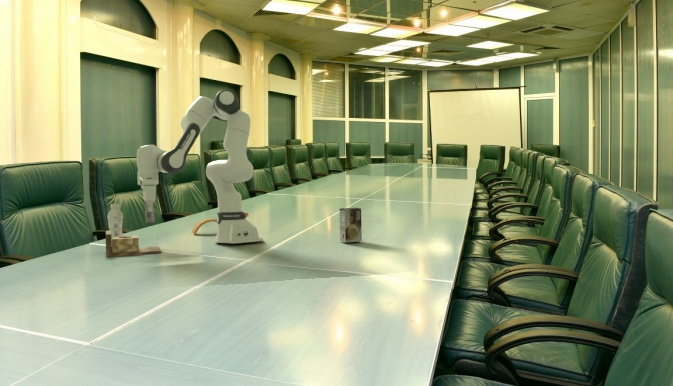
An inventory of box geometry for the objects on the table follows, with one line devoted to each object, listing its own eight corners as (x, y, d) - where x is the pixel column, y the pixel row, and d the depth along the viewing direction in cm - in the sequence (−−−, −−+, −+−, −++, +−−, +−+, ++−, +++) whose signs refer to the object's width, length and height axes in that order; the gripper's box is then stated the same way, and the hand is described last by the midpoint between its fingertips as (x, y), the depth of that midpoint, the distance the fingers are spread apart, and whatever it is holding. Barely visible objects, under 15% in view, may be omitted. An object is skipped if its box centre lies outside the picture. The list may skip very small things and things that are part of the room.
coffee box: (355, 240, 243) (355, 207, 243) (362, 241, 237) (361, 208, 237) (339, 241, 239) (339, 208, 239) (345, 242, 233) (344, 208, 233)
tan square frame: (137, 248, 214) (137, 235, 213) (138, 251, 204) (138, 237, 204) (112, 249, 209) (112, 236, 209) (112, 252, 200) (112, 239, 200)
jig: (158, 248, 220) (158, 228, 220) (161, 253, 205) (161, 231, 205) (106, 251, 211) (106, 230, 211) (106, 256, 197) (105, 234, 196)
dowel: (153, 221, 225) (152, 195, 225) (154, 222, 222) (153, 196, 221) (145, 222, 224) (144, 196, 223) (146, 223, 220) (144, 196, 220)
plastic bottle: (118, 249, 218) (117, 204, 217) (104, 249, 219) (103, 204, 219) (127, 247, 224) (126, 203, 224) (113, 247, 226) (113, 203, 225)
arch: (190, 238, 256) (190, 219, 256) (227, 236, 266) (227, 217, 266) (193, 239, 251) (192, 220, 251) (231, 237, 261) (231, 218, 261)
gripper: (139, 180, 230) (140, 210, 231) (142, 181, 211) (143, 213, 212) (153, 180, 233) (155, 209, 233) (157, 180, 214) (159, 212, 215)
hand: (149, 211), depth 223 cm, fingers closed on dowel, 4 cm apart
